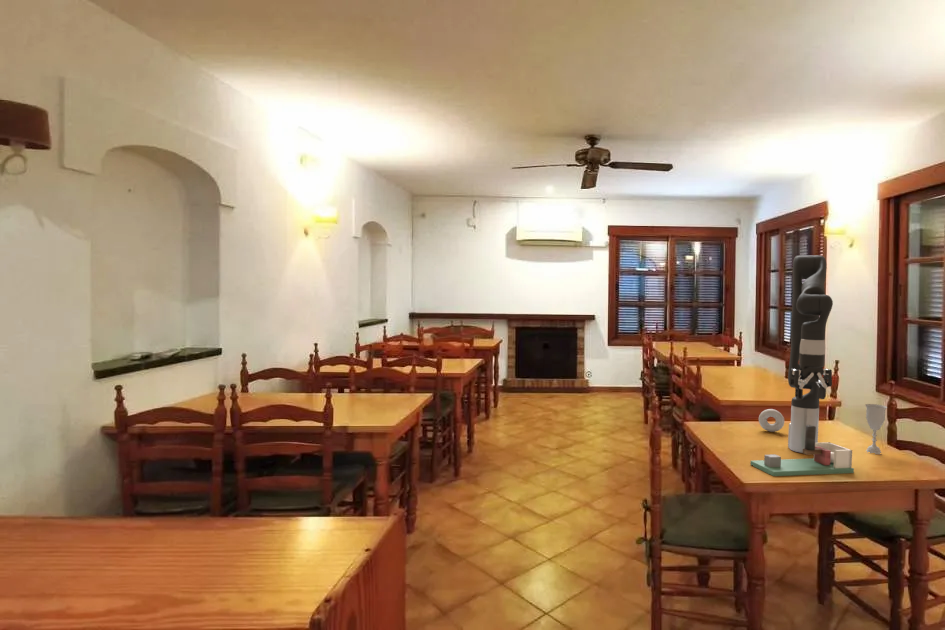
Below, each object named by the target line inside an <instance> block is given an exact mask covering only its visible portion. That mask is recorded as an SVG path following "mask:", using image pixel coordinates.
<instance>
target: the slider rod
mask: <svg viewBox="0 0 945 630" xmlns="http://www.w3.org/2000/svg"><path fill="white" fill-rule="evenodd" d="M815 434H816V427H815V426H811V425H806V431H805V449H803V453H802V454H804V455H813V458H814V461H816V462H818V463H821V464H823V465H830V458H831V451H830V450H828V449H825V448H822V447H815Z"/></svg>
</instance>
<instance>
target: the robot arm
mask: <svg viewBox="0 0 945 630" xmlns="http://www.w3.org/2000/svg"><path fill="white" fill-rule="evenodd" d="M827 265H828V264H827V259H826V257H825V256H823V255H817V254H816V255H796V256H795V257H794V259H793V260H792V308H791V320H790V321H791V324H790V325H791V326H790V328H791V329H790V353H789V354H790V356H789V362H788V363H789V365H788V372H787V373H788V374H787V375H788V376H787V382H788V386H789V387H791V388H794V389H795V390H794V392H795V393H794V394H795V395H794V396H793V397H792V398H791V401H790V403H791V408H790V423H788V437H787V438H788V439H787V448H789V450H791V451H793V452H796V453H800V454H803V449H805V431H806V425H811V426H815V427H816V434H815V443H819V441H818V440H819V439H818V438H819V418H820V416H819V415H820V400H825V398H826V396H827V395H826V394H827V388H830V387H832V386H833V371H832V369H830V368H824V367H825V362H826V328H827V322H828V320H829V319H828V318H829V316H830V313H831V311H832V309H833V303H834V301H833V298H832V297H831V296H830V295H827V294H826V293H825V282H826V276H827V269H828V268H827ZM803 280H804V281H803ZM804 389H805V390H809V391H808V392H807V393H805V394H804V393H803V392H804Z"/></svg>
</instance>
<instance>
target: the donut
mask: <svg viewBox="0 0 945 630" xmlns="http://www.w3.org/2000/svg"><path fill="white" fill-rule="evenodd" d="M771 417H772V418H774V419H775V422H774V423H770V422H768V418H771ZM758 423H759V425H760V427H761V428H762V429H763V430H765V431H767V432H772V433H775V432H779V431H780V430H781V429H783V427H784V425H785V417H784V416H783V414H782V413H781V412H780V411H779V410H776V409H773V408H768V409H764V410H763V411H761V412H760V414H759V415H758Z"/></svg>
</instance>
